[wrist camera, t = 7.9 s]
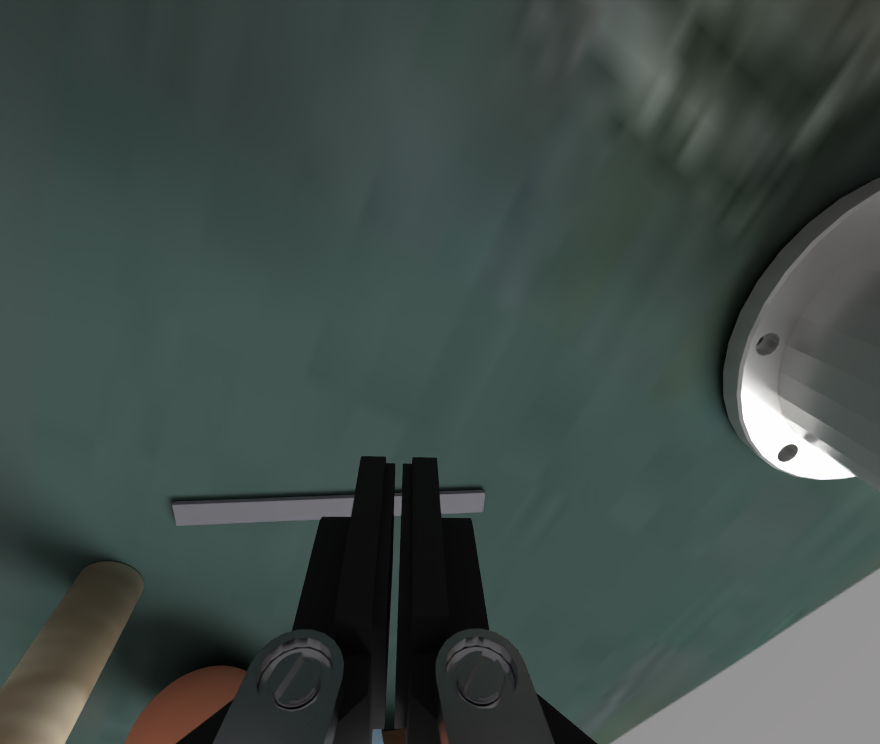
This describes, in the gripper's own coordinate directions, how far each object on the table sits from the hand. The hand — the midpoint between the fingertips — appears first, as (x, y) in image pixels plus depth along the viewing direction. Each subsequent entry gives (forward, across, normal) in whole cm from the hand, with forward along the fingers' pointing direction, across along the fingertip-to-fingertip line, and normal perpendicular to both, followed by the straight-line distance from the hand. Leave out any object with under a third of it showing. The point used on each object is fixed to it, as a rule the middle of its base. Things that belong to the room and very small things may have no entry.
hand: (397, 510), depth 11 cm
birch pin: (+6, +12, +9) cm, 16 cm away
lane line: (+7, +2, +6) cm, 9 cm away
